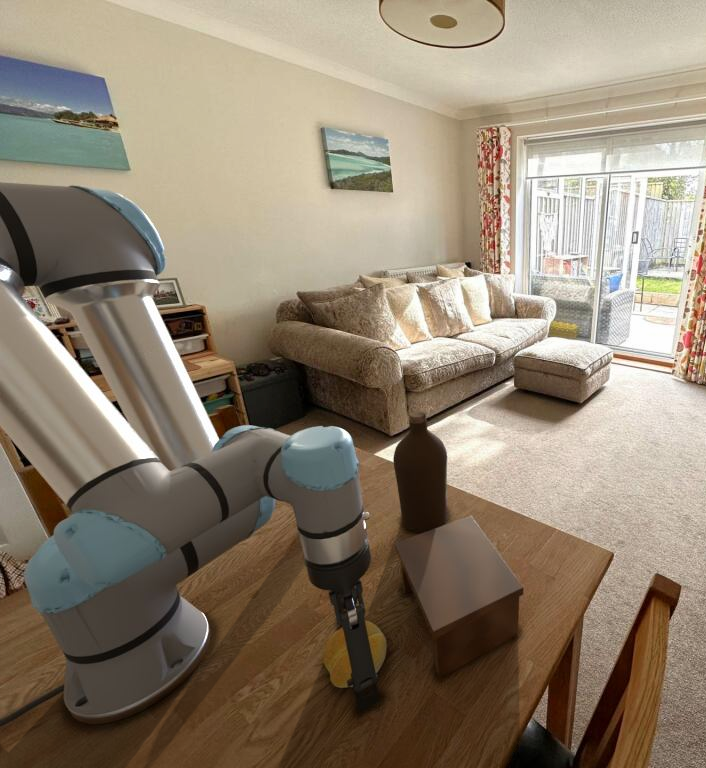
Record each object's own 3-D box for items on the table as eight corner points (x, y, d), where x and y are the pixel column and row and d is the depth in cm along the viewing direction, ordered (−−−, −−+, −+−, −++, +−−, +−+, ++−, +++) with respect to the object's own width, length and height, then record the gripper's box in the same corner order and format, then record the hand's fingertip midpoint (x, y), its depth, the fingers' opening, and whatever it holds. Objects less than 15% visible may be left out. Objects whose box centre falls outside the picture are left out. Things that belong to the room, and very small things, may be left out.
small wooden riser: (436, 682, 56) (433, 631, 52) (399, 587, 70) (394, 543, 67) (521, 634, 63) (523, 587, 59) (471, 557, 77) (471, 515, 73)
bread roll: (340, 704, 53) (335, 685, 52) (318, 653, 59) (314, 634, 58) (398, 664, 58) (395, 645, 57) (373, 620, 65) (370, 602, 63)
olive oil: (410, 542, 80) (400, 431, 71) (392, 512, 88) (381, 409, 79) (458, 522, 86) (454, 417, 77) (437, 496, 94) (431, 398, 85)
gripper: (393, 607, 43) (409, 729, 51) (349, 484, 63) (365, 585, 70) (316, 641, 39) (346, 767, 47) (295, 499, 59) (318, 604, 67)
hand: (357, 658), depth 59 cm, fingers open, 13 cm apart
